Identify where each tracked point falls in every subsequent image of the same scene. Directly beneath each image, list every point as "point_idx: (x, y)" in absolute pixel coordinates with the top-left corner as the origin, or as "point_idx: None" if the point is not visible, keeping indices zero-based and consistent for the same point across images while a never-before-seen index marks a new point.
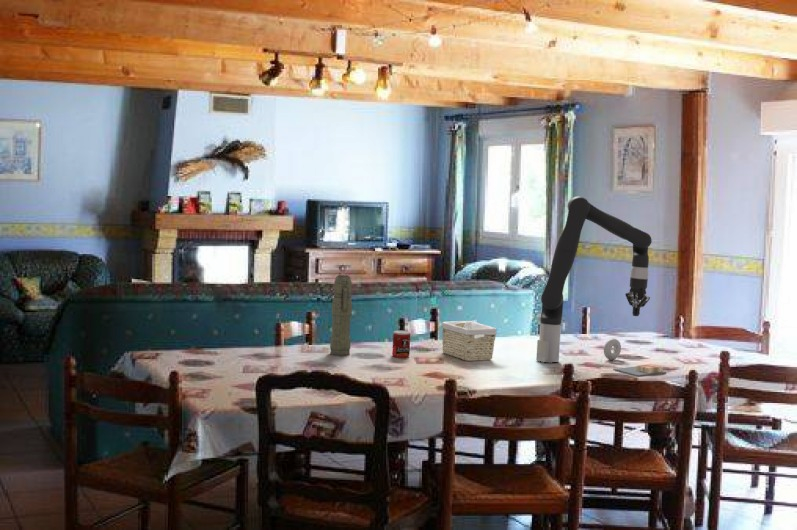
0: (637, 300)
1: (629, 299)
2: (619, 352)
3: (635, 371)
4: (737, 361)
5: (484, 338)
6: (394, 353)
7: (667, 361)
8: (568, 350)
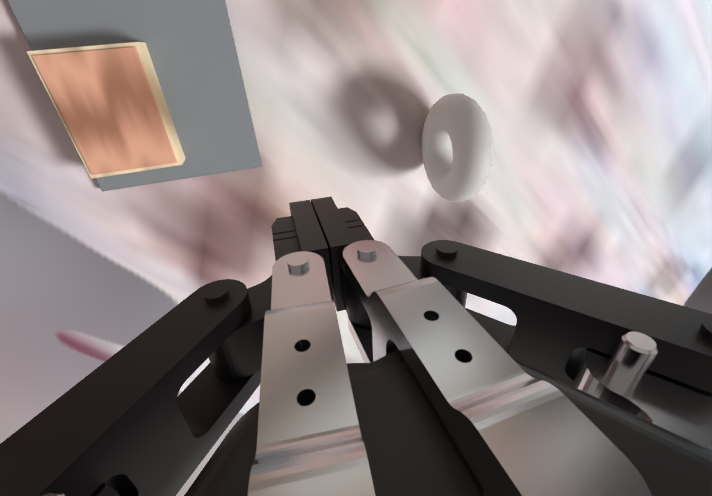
0: (265, 352)
1: (527, 292)
2: (430, 179)
3: (110, 9)
4: None
5: None
6: None
7: None
8: (628, 89)
